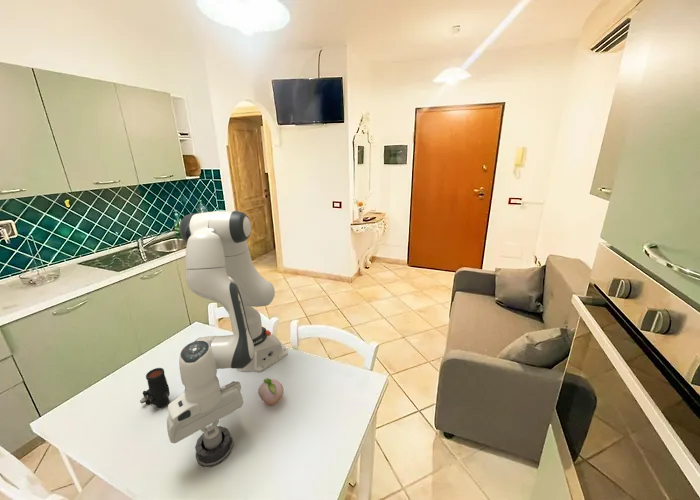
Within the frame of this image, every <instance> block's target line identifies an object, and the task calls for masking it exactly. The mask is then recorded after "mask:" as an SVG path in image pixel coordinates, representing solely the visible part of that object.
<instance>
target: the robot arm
mask: <svg viewBox="0 0 700 500" xmlns="http://www.w3.org/2000/svg"><path fill="white" fill-rule="evenodd" d="M251 231H252V224H251V221H250V217H249V216H248V215H247V214H246V213H245V212H243V211H239V210H233V211H228V210H227V211H226V210H213V211H205V212H199V213H198V212H194V213H189V214H186V215H184V217H183V218H182V219H181V221H180V224H179V234H180V236H181V238H182V240H183V241H184V242H185V243H186V247H185V255H184V257H185V259H184V260H185V261H184V262H185V263H184V264H185V265H184V267H185V281H186V285H187V287H188V289H189V290H190V291H191V292H192V293H194V294H195V295H196V296H199V297H201V298H203V299H206V300H210V301H213V302H215V303H218V304H220V305H221V306H222V307H223V308H224V309H225V311H226V312H227V314H228V316H229V320H230V325H231V328H232V333H233V334H230V335H227V334H226V335H211V336H210V335H209V336H202V337H198V338H197V339H195V340H194V341H192V342H190V343H188V344H186V345H185V346H184V347H182V349H181V350H180V353H179V375H180V380H181V383H182V385H183V386H184V392H183V393H182V394H181V395H179V396H178V397H177V398H175V399H174V400H172V401H171V402H169V404H168V405H167V412H168V415H167V418H166V429H167V435H168V438H169V442H170V443H172V444H177V443H179V442H180V441H182V440H184V439H186V438H188V437H189V436H191V435H193V434H196V432H199V431H201V432H202V433H205V434H206V436H207V437H208V436H209V435H211V434H213V433H215V432H216V431H217V428H216V427H217V426H219V423H220V420H221V419H222V418H224V417H226V416H229V415H230V414H231V413H234V412H235V411H237V410H239V409H240V408H242V407H243V405H244V399H243V396H242V393H241V390H242V385H241V381H234V380H233V381H231V382H230V383H227V384H225V385H223V386H221V385H220V381H219V379H218V377H217V372H218V370H221V369H223V370H224V369H236V370H238V371H240V372H241V371H242V372H255V373H256V372H257V373H262V372H264V371H265V370H267V369H268V368H270V367H271V366H273V365H274V364H275V363H276V364H277V362H279V361H280V360H282V359H283V358H285V357H286V356H287V355H288V353H289V352H288V349H287V347H286V345H285V344H284V343H282V342H281V341H280V339H279V338H278V337H276V336H275V335H274V334H272V332H271V331H270V330H268V329H267V328H266V327H264V326H263V324H262V316H261V314H260V312H259V311H258V310H257V309H255V308H257V307H266V306H269V305H271V303H273V300H274V298H275V295H276V291H275V288H274V287H275V286H274V285H273V283H272V282H270V281H269V280H268V279H265V278H264V277H263V276H262V274H260V272H259V271H258V270H257V268H256V267H255V265H254V263H253V260H252V257H251V251H250V248H249V245H248V239H249V238H250V236H251V233H252V232H251ZM254 307H255V308H254Z"/></svg>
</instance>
